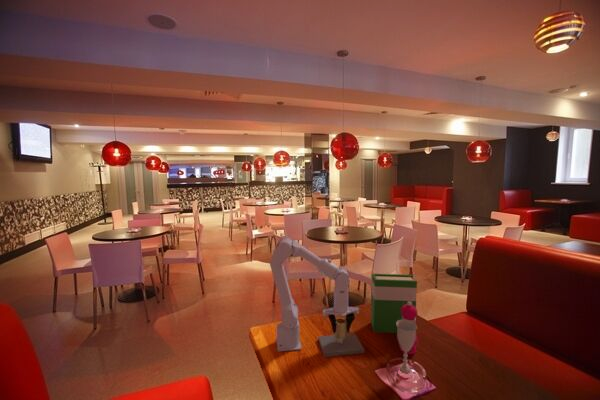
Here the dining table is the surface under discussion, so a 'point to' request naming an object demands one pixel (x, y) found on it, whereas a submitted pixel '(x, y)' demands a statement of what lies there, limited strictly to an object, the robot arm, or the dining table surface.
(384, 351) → the dining table surface
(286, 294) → the robot arm
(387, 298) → the hardback book
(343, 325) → the wooden collar
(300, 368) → the dining table surface
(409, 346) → the chalice
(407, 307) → the pepper mill
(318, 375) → the dining table surface
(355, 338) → the pin board
